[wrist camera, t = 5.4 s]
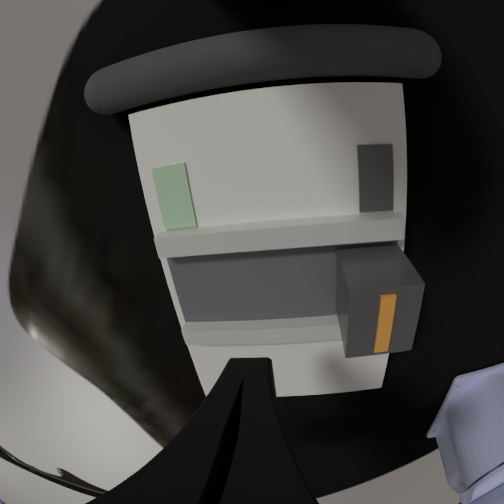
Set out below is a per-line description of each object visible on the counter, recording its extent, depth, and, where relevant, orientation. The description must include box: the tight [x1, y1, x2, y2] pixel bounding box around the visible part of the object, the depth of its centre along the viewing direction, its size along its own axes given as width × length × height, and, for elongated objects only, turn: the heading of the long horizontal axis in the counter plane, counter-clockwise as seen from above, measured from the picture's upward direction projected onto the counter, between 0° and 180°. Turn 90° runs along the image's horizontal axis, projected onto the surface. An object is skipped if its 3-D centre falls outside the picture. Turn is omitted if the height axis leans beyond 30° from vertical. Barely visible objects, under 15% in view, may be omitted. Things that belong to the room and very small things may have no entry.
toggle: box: [336, 244, 425, 358], centre depth 13 cm, size 3×3×4 cm
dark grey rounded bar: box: [84, 24, 441, 115], centre depth 11 cm, size 2×16×2 cm, turn 97°
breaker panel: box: [128, 82, 407, 396], centre depth 16 cm, size 18×12×2 cm, turn 8°
